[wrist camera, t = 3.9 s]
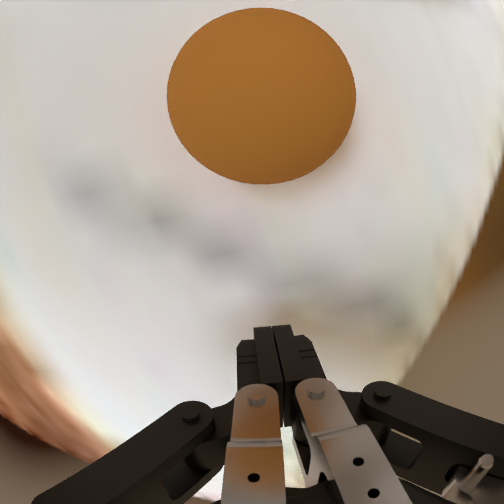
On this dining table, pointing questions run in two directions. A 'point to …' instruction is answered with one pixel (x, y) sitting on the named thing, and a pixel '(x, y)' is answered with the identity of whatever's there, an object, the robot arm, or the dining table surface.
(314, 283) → the dining table surface
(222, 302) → the dining table surface
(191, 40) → the ball
